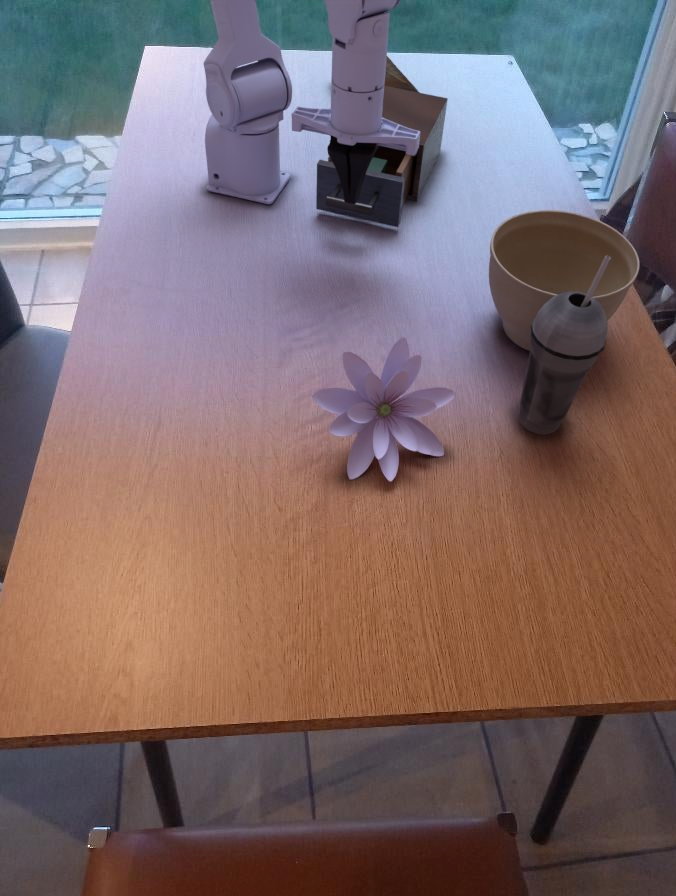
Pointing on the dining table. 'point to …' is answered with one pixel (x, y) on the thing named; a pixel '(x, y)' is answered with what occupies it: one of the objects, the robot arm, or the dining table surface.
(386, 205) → the drawer
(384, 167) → the block
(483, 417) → the dining table surface
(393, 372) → the water lily
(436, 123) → the cabinet
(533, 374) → the beverage cup
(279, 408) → the dining table surface
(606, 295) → the planter bowl
